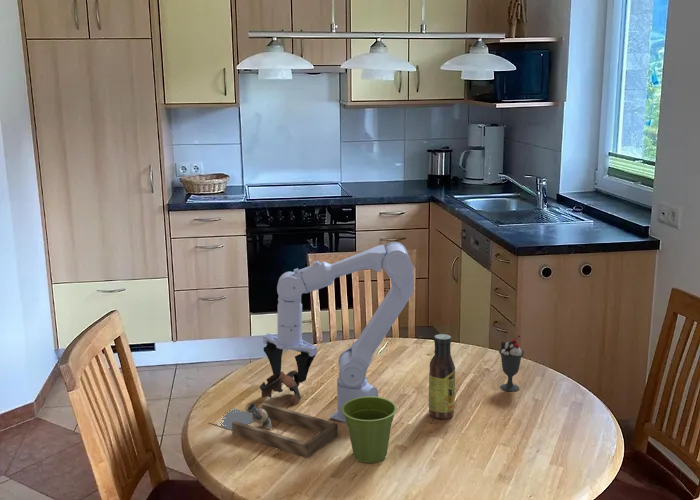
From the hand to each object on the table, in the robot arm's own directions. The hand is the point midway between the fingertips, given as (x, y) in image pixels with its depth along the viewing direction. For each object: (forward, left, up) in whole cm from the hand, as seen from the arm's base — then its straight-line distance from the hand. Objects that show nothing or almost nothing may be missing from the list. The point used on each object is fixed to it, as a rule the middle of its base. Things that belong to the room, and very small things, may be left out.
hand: (289, 377), depth 173 cm
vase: (+4, +8, -11) cm, 14 cm away
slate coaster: (+11, +8, -11) cm, 17 cm away
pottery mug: (+8, -8, -11) cm, 16 cm away
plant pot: (-25, +6, -11) cm, 28 cm away
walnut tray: (-4, +8, -10) cm, 14 cm away
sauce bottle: (-30, -20, -11) cm, 38 cm away
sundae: (-39, -43, -11) cm, 59 cm away
